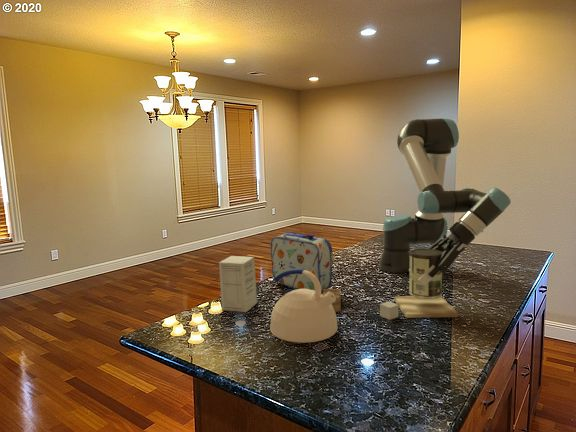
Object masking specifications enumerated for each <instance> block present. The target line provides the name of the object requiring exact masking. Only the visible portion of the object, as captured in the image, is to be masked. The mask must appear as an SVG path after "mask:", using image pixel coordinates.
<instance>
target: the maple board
mask: <svg viewBox="0 0 576 432" xmlns="http://www.w3.org/2000/svg"><path fill="white" fill-rule="evenodd" d="M394 301H395V304H397V305H399V309H400V310H401V312H402V314H403V315H404V317H405V318H406V319H408V318H409V319H416V318H420V319H421V318H422V317H425V318H459V312H458V311H457V310H456V309H455V308H454V307H453V306H452V305H451V304H449V302H447V301H446V299H445V298H444V297H443V296H441V297H439V298H435V299H423V298H417V297H414V296H412V295H405V296H403V295H401V296H399V295H397V296H394Z"/></svg>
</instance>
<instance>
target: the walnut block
mask: <svg viewBox="0 0 576 432" xmlns="http://www.w3.org/2000/svg"><path fill="white" fill-rule="evenodd" d="M332 293H333V294H334V295H335V297H336V301H335V302H333V303H332V306H333V308H334V311H335V313H337V312H341V311H342V310H341V301H342V300H341V297H342V296H341V295H340V296H339V295H337V294H336V293H335V292H332ZM321 294H322V295H323V296H324V295H325V294H327V293H324V294H323V293H321Z"/></svg>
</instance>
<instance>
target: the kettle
mask: <svg viewBox="0 0 576 432" xmlns="http://www.w3.org/2000/svg"><path fill="white" fill-rule="evenodd" d="M291 274H304V275H306V276H308V277H309V278H310V279H311V280H312V282H313V283H314V286H315V291H314V290H310V289H292V288H288V289H286V290H285V291H284V294H283V296H281V297H280V298H279V300H278V301H276V303H275V305H274V307H273V309H272V310H271V311H272V312H271V314H270V327H269V329H270V330H269V331H270V332H271V333H272V335H273V336H275V337H277V338H278V339H280V340H282V341H286V342H290V343H298V344H301V343H302V344H305V343H315V342H321V341H324V340H327V339H329V338H330V337H332V336H334V335H335V334H336V333H337V331H338V329H339V328H338V321H337V312H335V311H334V308H333V306H332V303H333V302H335V301H336V297H335V295H334V294H333V293H332V292H327V294H325V295H324V296H323V295H322V294H323V293H322V290H321V285H320V282H319V280H318V279H317V277H316V276H315V275H314V274H313V273H311V272H309V271H306V270H300V269H297V270H290V271H286V272H283V273H281V274H279V275H278V276H276V277H275V278H274V277H273V281H274V282H277V281H279V280H280V279H281V278H283V277H285V276H287V275H291Z"/></svg>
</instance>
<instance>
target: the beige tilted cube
mask: <svg viewBox="0 0 576 432" xmlns="http://www.w3.org/2000/svg"><path fill="white" fill-rule="evenodd" d="M399 309H400V307H399V305H398V304H397V303H396V302H395V303H394V302H391V301H390V300H389V301H385V302H382V303H379V316H380V317H382V318H384V319H387V320H389V321H391V320H393V319H396V318H399Z"/></svg>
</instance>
